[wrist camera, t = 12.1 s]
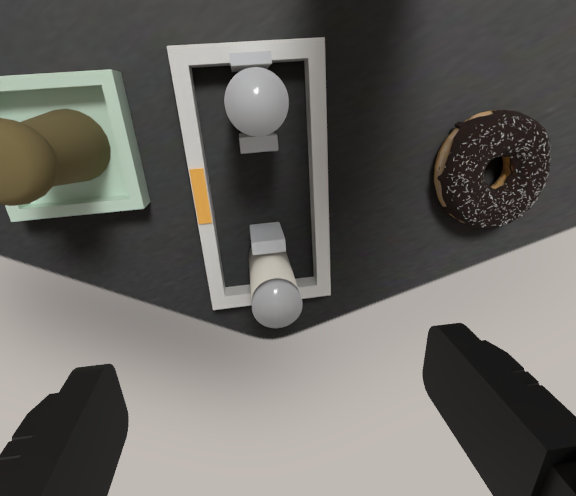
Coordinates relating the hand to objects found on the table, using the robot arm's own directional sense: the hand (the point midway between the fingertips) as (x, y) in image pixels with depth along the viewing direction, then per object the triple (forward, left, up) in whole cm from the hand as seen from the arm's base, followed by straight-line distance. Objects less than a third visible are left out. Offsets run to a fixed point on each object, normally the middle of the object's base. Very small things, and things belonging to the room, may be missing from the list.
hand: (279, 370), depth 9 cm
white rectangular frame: (+1, +1, -27) cm, 27 cm away
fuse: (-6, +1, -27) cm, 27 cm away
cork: (-4, -15, -26) cm, 30 cm away
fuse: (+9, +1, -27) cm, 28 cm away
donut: (+2, +24, -27) cm, 36 cm away
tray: (-4, -15, -27) cm, 31 cm away
